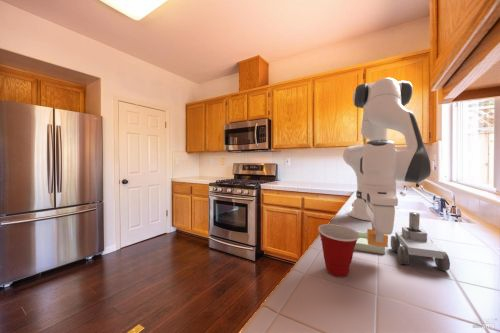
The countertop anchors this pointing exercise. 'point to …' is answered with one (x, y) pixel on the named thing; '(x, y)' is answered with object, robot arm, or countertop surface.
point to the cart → (418, 247)
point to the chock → (372, 240)
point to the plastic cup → (338, 248)
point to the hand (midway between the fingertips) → (377, 237)
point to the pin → (414, 221)
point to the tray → (363, 245)
